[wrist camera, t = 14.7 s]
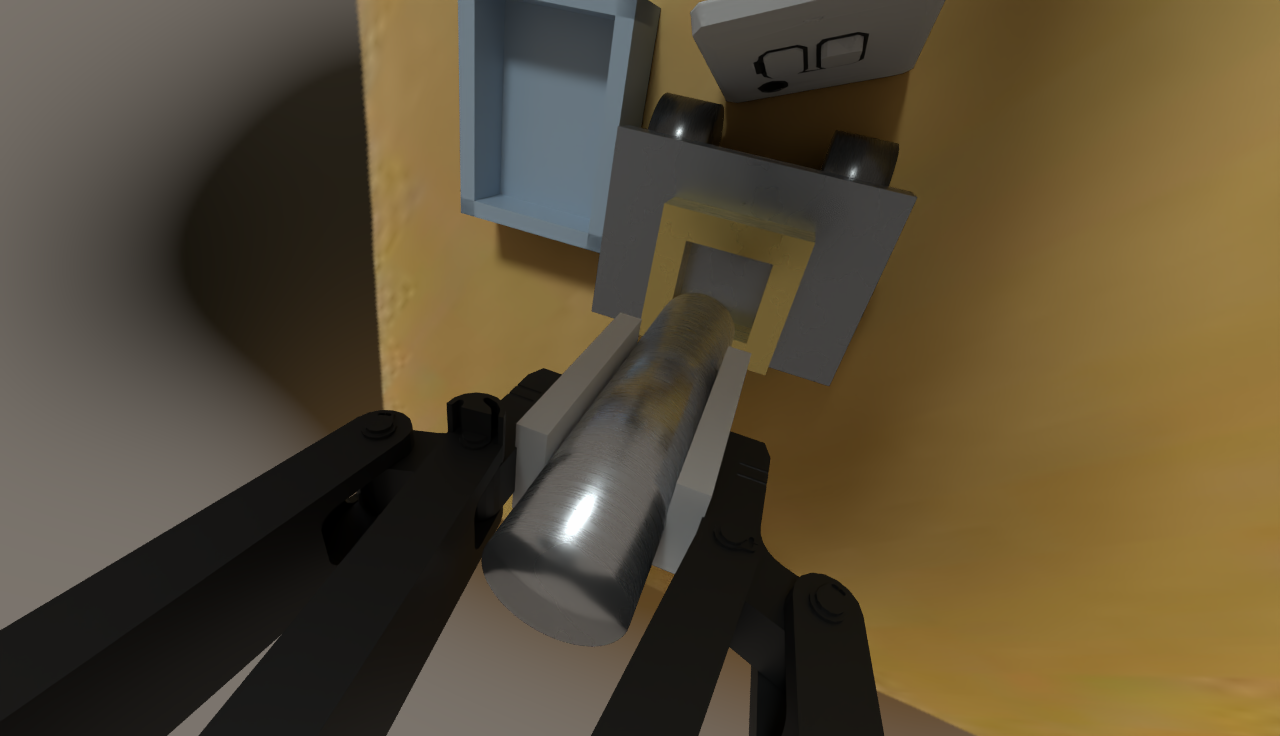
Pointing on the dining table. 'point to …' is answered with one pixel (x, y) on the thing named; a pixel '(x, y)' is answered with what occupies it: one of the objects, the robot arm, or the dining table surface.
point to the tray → (549, 108)
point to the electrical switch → (808, 42)
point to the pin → (611, 484)
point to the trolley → (749, 235)
